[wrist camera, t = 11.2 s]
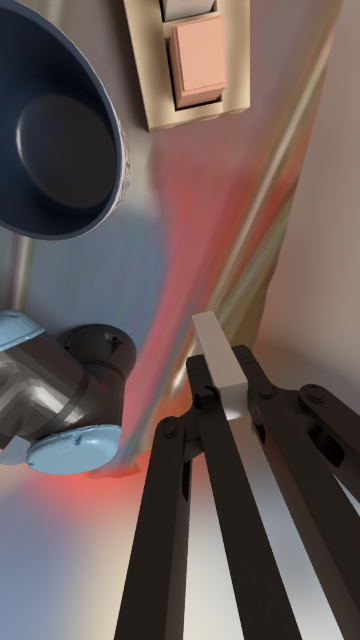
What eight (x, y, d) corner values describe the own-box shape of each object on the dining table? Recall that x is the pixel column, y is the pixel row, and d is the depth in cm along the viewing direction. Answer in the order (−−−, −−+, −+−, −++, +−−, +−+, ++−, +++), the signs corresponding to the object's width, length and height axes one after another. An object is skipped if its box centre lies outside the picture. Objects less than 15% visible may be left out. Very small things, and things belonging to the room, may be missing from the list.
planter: (151, 138, 30) (155, 111, 18) (105, 239, 37) (85, 268, 25) (26, 36, 24) (-92, -106, 12) (-4, 178, 31) (-101, 177, 19)
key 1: (177, 108, 28) (182, 95, 23) (168, 48, 25) (173, 22, 21) (215, 99, 28) (227, 85, 24) (211, 39, 25) (224, 11, 21)
